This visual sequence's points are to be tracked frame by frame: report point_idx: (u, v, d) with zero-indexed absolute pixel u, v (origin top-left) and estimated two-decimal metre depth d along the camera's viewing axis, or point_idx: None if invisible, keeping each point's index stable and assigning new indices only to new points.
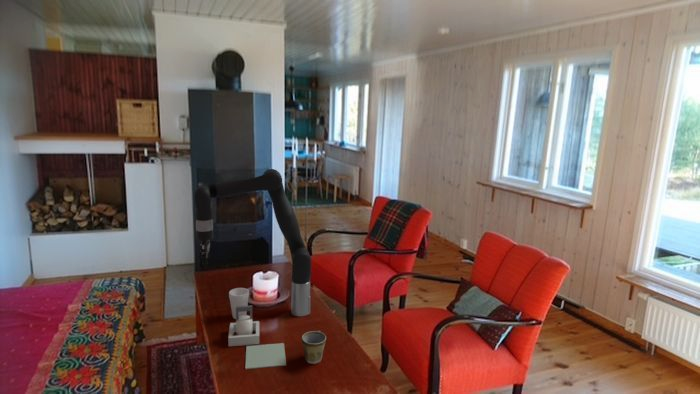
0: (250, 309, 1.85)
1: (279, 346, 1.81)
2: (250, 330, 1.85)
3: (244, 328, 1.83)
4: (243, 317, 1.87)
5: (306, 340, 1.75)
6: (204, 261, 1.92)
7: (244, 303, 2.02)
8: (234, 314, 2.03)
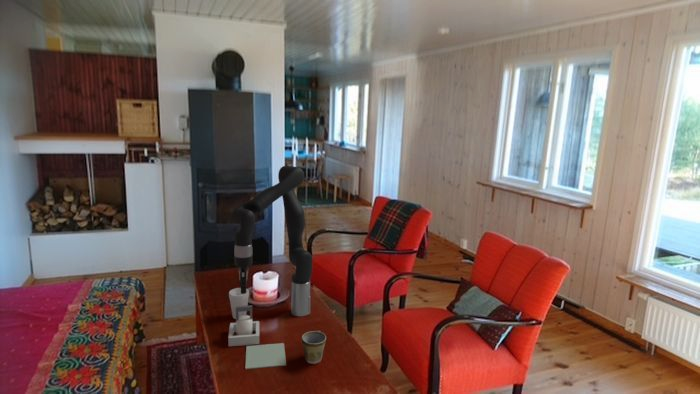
0: (250, 309, 1.85)
1: (279, 346, 1.81)
2: (250, 330, 1.85)
3: (244, 328, 1.83)
4: (243, 317, 1.87)
5: (306, 340, 1.75)
6: (243, 289, 1.78)
7: (244, 303, 2.02)
8: (234, 314, 2.03)
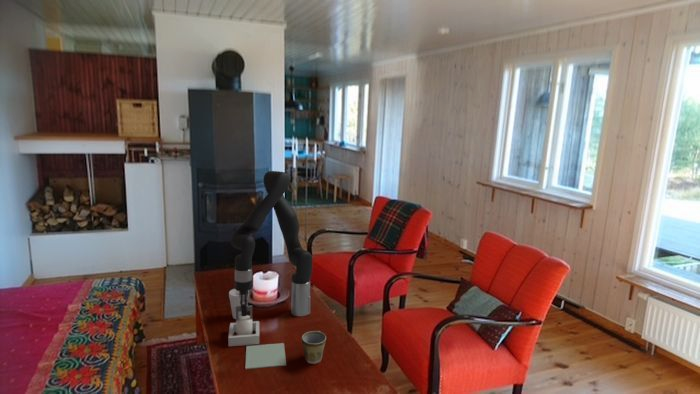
0: (250, 309, 1.85)
1: (279, 346, 1.81)
2: (250, 330, 1.85)
3: (244, 328, 1.83)
4: (243, 317, 1.87)
5: (306, 340, 1.75)
6: (244, 312, 1.83)
7: None
8: (234, 314, 2.03)
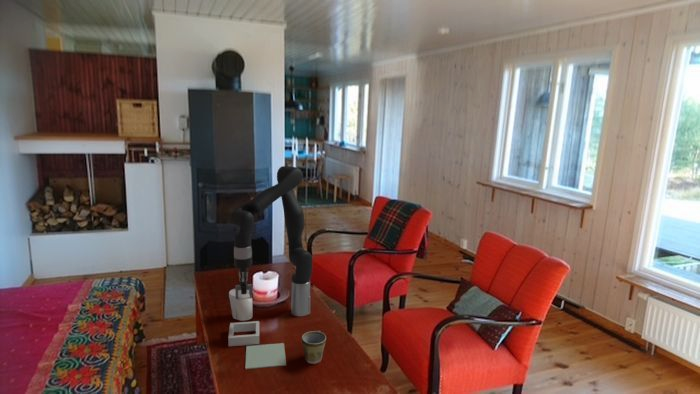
0: (250, 288, 1.83)
1: (279, 346, 1.81)
2: (250, 309, 1.83)
3: (244, 307, 1.81)
4: (243, 296, 1.85)
5: (306, 340, 1.75)
6: (243, 290, 1.81)
7: None
8: (234, 314, 2.03)
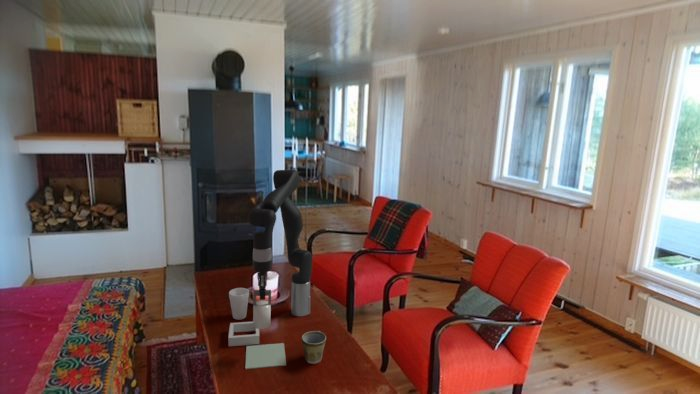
0: (269, 294, 1.70)
1: (279, 346, 1.81)
2: (268, 317, 1.70)
3: (261, 314, 1.68)
4: (261, 302, 1.72)
5: (306, 340, 1.75)
6: (262, 295, 1.68)
7: (244, 303, 2.02)
8: (234, 314, 2.03)
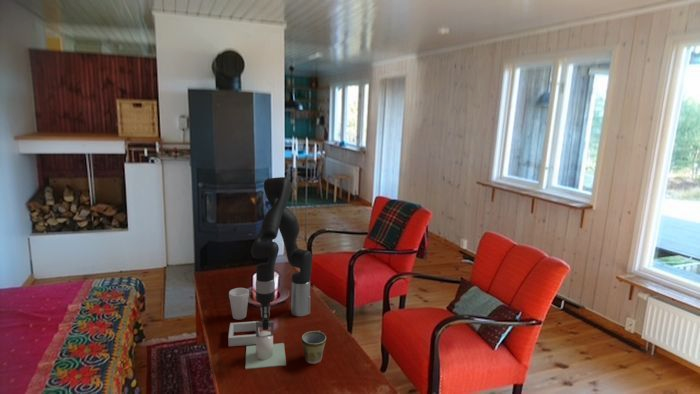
0: (271, 325, 1.72)
1: (279, 346, 1.81)
2: (271, 347, 1.72)
3: (264, 346, 1.70)
4: (263, 333, 1.74)
5: (306, 340, 1.75)
6: (265, 326, 1.70)
7: (244, 303, 2.02)
8: (234, 314, 2.03)
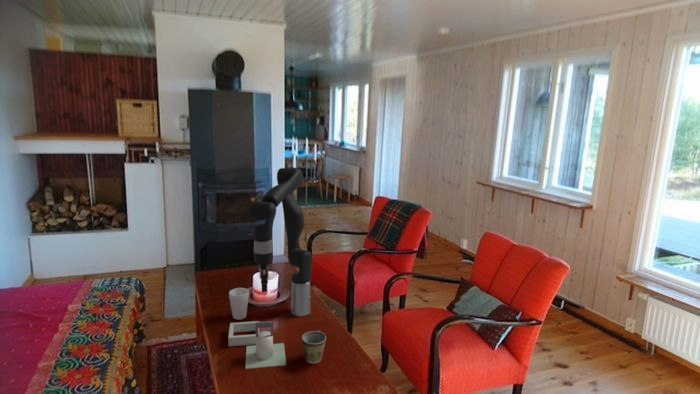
0: (271, 325, 1.71)
1: (279, 346, 1.81)
2: (271, 348, 1.72)
3: (264, 346, 1.69)
4: (263, 333, 1.74)
5: (306, 340, 1.75)
6: (264, 288, 1.67)
7: (244, 303, 2.02)
8: (234, 314, 2.03)
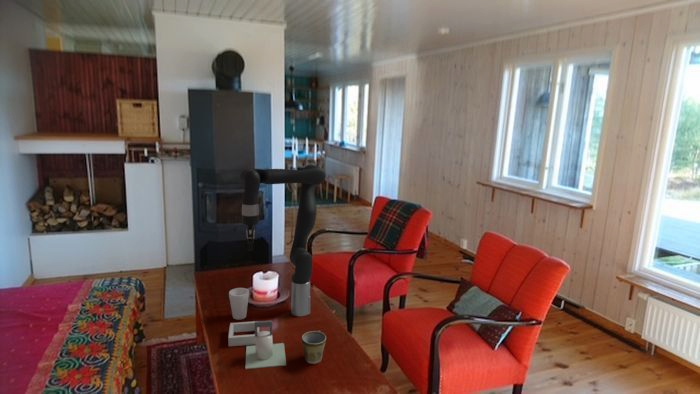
0: (270, 324, 1.71)
1: (279, 346, 1.81)
2: (270, 347, 1.72)
3: (263, 345, 1.70)
4: (262, 333, 1.74)
5: (306, 340, 1.75)
6: (250, 246, 1.87)
7: (244, 303, 2.02)
8: (234, 314, 2.03)
